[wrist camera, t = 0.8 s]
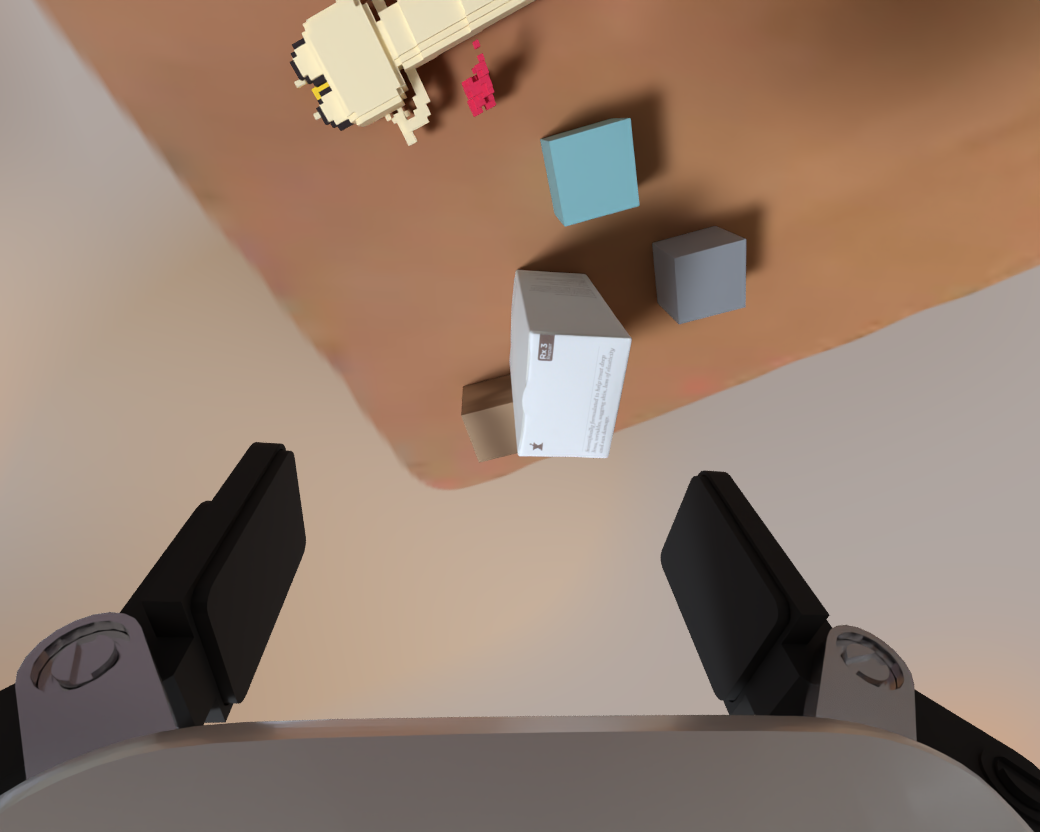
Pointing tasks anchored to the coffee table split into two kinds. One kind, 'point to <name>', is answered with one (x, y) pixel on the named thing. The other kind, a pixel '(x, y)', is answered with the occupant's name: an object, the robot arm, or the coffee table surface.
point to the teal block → (591, 170)
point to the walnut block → (490, 417)
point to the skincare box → (565, 365)
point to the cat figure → (389, 57)
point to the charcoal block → (700, 273)
